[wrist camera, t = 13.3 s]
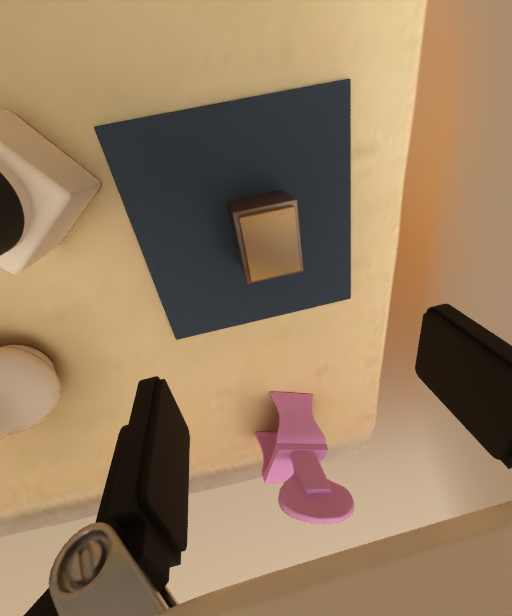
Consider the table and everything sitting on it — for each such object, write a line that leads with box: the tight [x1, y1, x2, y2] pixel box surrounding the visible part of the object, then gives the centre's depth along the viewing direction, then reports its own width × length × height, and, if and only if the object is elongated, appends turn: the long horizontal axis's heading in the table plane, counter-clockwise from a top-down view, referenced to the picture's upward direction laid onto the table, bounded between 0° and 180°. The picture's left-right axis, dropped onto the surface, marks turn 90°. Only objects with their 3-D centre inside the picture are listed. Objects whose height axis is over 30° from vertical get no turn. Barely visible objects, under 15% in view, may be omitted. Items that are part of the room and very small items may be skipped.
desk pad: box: [94, 79, 351, 340], centre depth 27 cm, size 20×20×1 cm
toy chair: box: [255, 392, 354, 524], centre depth 35 cm, size 8×9×15 cm
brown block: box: [227, 190, 304, 284], centre depth 25 cm, size 6×5×6 cm
